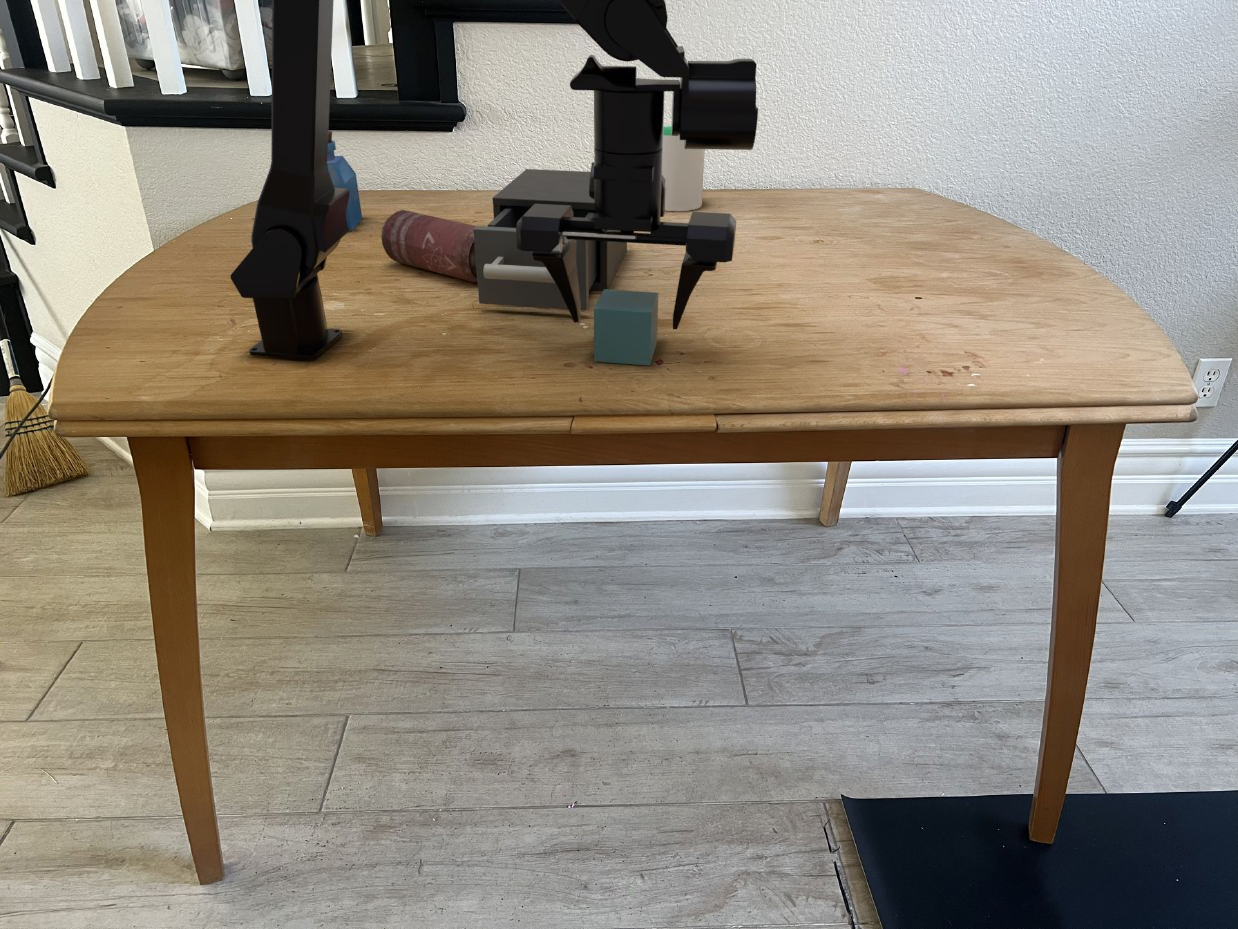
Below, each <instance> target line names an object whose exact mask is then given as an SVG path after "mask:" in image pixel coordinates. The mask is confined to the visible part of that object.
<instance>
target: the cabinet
mask: <svg viewBox="0 0 1238 929" xmlns="http://www.w3.org/2000/svg"><path fill="white" fill-rule="evenodd" d="M590 172H591V171H581V170H561V169H560V170H559V169H558V170H557V169H537V168H536V169H535V168H526V169H524V170H523V171H522V172H521V173H520V174H519V175H518V176H517V177H515V178H513V180H511V182H509V183H508V184H507V185H506V186H505V187H503V188H502V189H501V190H500V191H499V192H498V193H496V194H495V195H494V196H493V197H492V212H493V219H494V218H495V217H497V216H498V215H499V214H500V213H501V212H502V211H503V210H504V209H505V208H506V207H507V206H522V207H532V206H533V205H534V204H551V205H570V206H571V207H572V209H581V210H595V200H594V199H592V198H591V197H590V196H589V180H590ZM605 231H614V232H620V230H605ZM627 252H628V243H627V242H609V241H600V272H599V274H598V276H597V277H596V279H595V281H594V283H593V285H592V286H591V288H590V290H594V291H603V290H604V289H608V290H609V288H610V285H611V284H612V282H613V280H614V278H615V276H616V274H617V272H618V270H619V268H620V266H621V264H622V262H623V260H624V258H625V256H626V254H627Z"/></svg>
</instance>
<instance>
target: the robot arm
mask: <svg viewBox="0 0 1238 929" xmlns="http://www.w3.org/2000/svg"><path fill="white" fill-rule="evenodd" d="M334 1H335V0H271V6H272V7H271V9H272V10H271V13H272V14H271V151H270V152H271V153H270V154H271V155H270V156H271V157H270V158H271V159H270V160H271V161H270V165H269V166H270V167H269V169H268V173H267V176H266V178H265V181H264V184H263V186H262V189H261V192H260V195H259V197H258V200H257V204H256V208H255V213H254V219H253V224H252V230H251V236H250V243H251V247H252V248H251V250H250V251H249V252H248V253H247V254H246V256H244V258H243V259H242V261H241V262H240V263H239V264H238V265H237V267H235V269H234V270H233V272H231V274H230V276H229V277H230V280H231V281H232V283H233V285H234V286H235V288H236V290H237V292H238V293H239V295H240V297H241V298H242V299H252V302H253V305H254V311H255V316H256V320H257V324H258V329H259V334H260V338H261V340H260V341H258V342H257V343H256V344H254V345H253V346H252V347H250V348H249V349H248V352H249V355H250V356H254V357H267V358H279V359H289V360H290V359H292V360H305V361H314V360H316V359H317V358H318V357H320V356H321V355H323V353H324V352H325V351H327V349H329V348H330V347H331V346H332V345H334V343H336V342H337V341H338V340H339V339H340V338H341V337H342V336H344V335H343V334H344V333H343V329H341V328H340V329H339V328H328V326H327V325H328V324H327V323H328V322H327V318H326V313H325V307H324V301H323V294H322V290H321V287H320V281H319V276H318V274H319V273H320V272H321V271H323V270H324V269H325V268H326V264H327V259H328V256H329V255H331V254H332V253H333V252H334V251H335V249H337V248H338V246H339V244H340V242H341V239H342V238H343V237H345V235H347V234H348V233H349V232H350V231H349V227H348V224H347V221H346V209H347V204H348V200H349V194H350V190H349V189H347V188H334V185H333V182H332V179H331V176H330V173H329V170H328V164H327V157H328V131H330V130H329V129H330V127H329V126H330V101H331V78H332V76H331V74H332V53H333V52H332V50H333V49H332V48H333V28H334V27H333V25H334V22H333V21H334ZM557 1H558V3H559V4H560V5H561V6H562V8H564V10H565V11H566V12H567V13H568V15H570V17H571V18H572V19H573V20H574V21H575V23H576V24H578V25H579V26H580V28H581V29H583V31H584V32H585V33H586V34H587V35H588V37H590V38H591V39H592V40H593V41H594V42H595V43H596V44H597V46H598V47H599V48H600V49H602V51H603V52H604V53H606V54H607V55H608V56H609V57H611V58H613V59H614V60H618V61H621V62H634V61H640V62H641V63H642V64H643V65H645V66H646V67H647V68H649V69H650V70H651V71H653V72H654V73H655V74H656V75H658V77H661V78H678V79H661V78H660V79H656V78H655V79H654V78H642V77H641V78H640V77H639V78H638V77H637V72H638V70H637V69H638V68H637V65H636V66H635V65H634V66H633V65H632V66H631V65H623V66H622V65H602V63H601V62H599V60H598V59H597V57H596V56H595V55H594V54H589V56H588V57H587V59H586V61H585V63H584V65H583V67H582V68H581V69H580V70H579V71H578V72H577V73H576V74H574V75H573V77H572V78H571V80H570V82H569V87H570V89H571V90H573V91H593V144H594V145H593V153H594V154H593V160H594V161H592V162H591V166H590V171H589V172H590V180H589V196H590V197H591V198H592V199H594V200H595V217H594V218H578V217H573V210H572V207H571V206H570V205H551V204H534V205H533V206H532V207H531V208H530V209H529V210H528V211H527V212H526V213H525V214H524V215H523V216H522V217H521V218H520V220H519V221H518V222H517V227H516V240H517V249H519V250H521V251H534V252H533V253H532V259H533V260H535V261H541V262H543V264H544V265H545V267H546V269H547V270H548V272H549V273H550V275H551V277H552V278H553V280H554V282H555V283H556V285H557V287H558V289H559V291H560V293H561V295H562V297H563V299H564V301H565V304H566V306H567V308H568V309H567V311H568V312H569V314H570V316H571V319H572V321H573V323H576V324H579V323H580V320H581V311H582V310H581V301H580V292H579V283H578V274H577V265H576V247H577V240H591V241H609V242H627V244H628V243H629V244H646V245H647V244H648V245H663V246H664V245H665V246H682V247H685V253H684V254H683V255H684V256H683V259H682V263H681V266H680V273H679V278H678V282H677V289H676V295H675V302H674V307H673V313H672V330H678V328H679V326H680V323H681V320H682V318H683V315H684V312H685V310H686V307H687V305H688V303H689V300H690V297H691V295H692V293H693V291H694V289H695V288H696V286H697V284H698V282H699V281H700V279H701V277H702V276H703V274H704V273H705V272H714V271H716V270H717V267H718V263H729V262H732V261H733V258H734V249H735V244H736V230H737V220H736V219H735V217H734V216H733V215H732V213H729V212H728V213H727V212H708V211H707V212H706V211H692V212H691V215H690V217H689V221H688V222H672V221H661V218H664V216H665V212H666V211H665V191H666V188H665V181H666V180H665V178H664V177H663V175H662V153H663V127H664V120H665V119H664V118H665V92H672V97H671V98H672V100H671V126H672V127H671V134H672V136H678V135H680V140H684V149H705V150H723V151H724V150H729V151H731V150H733V151H752V150H753V148H754V146H755V141H756V136H757V129H758V120H759V119H758V118H759V108H758V106H757V80H756V79H757V78H756V76H757V63H756V61H755V60H754V59H753V58H735V59H730V60H687V57H686V55H685V54H686V52H685V49H684V46H683V45H680V46H679V45H678V44H677V42H676V40H675V39H674V37H673V35H672V34H671V33H670V31H669V29H668V28H667V25H668V18H669V17H668V11H667V4H666V1H665V0H557ZM605 230H620V232H614V231H605Z"/></svg>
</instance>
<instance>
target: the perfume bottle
mask: <svg viewBox="0 0 1238 929" xmlns="http://www.w3.org/2000/svg"><path fill="white" fill-rule="evenodd" d="M336 150H337V146H336V141H335V140H333V131H332V130H329V131H328V157H327V164H328V170H329V173H330V176H331V179H332V182H333V185H334V188H347V189H349V190H350V194H349V200H348V204H347V209H346V221H347V224H348V227H349V232H353V231H354V230H355V229H356V228H357V226H358V225H359V223H360V222H362V220H363V213H362V206H361V201H360V192H359V185H358V179H357V173H356V172H355V170H354V168H353V167H352V166H351V164H350V163H349V162H348V161H347V160H346V158H345V156H343V155H335V151H336Z"/></svg>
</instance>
